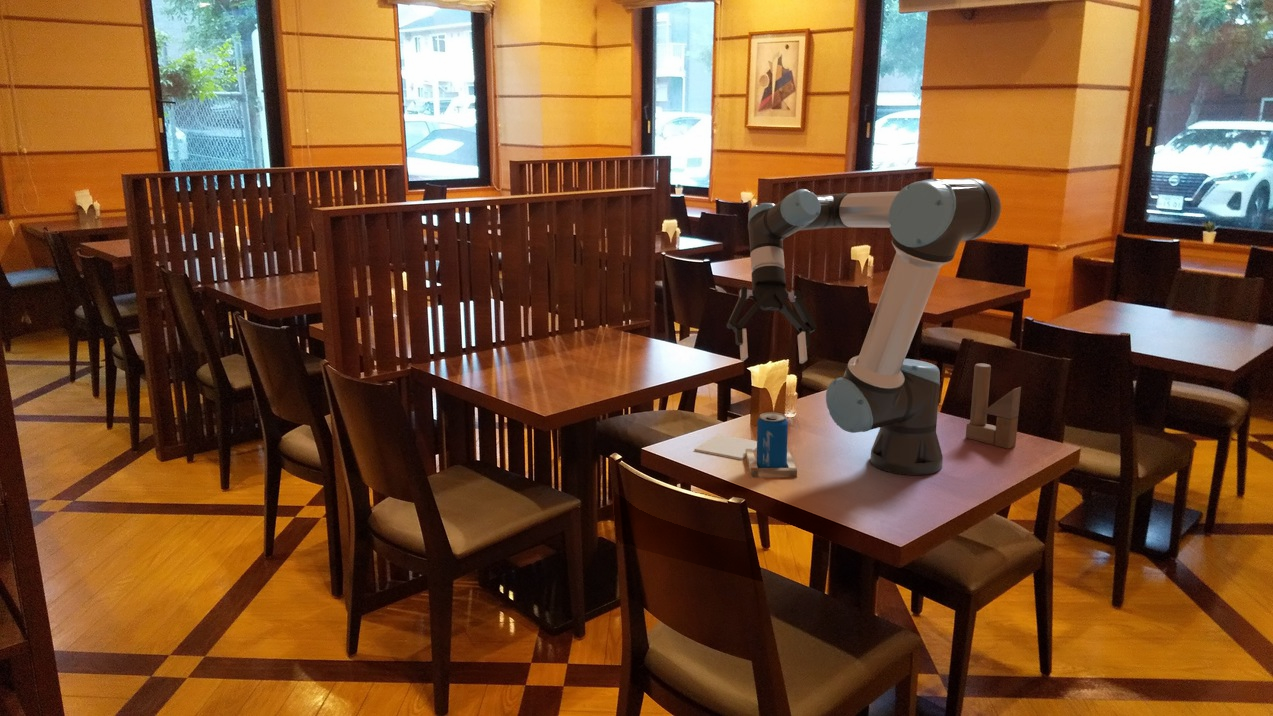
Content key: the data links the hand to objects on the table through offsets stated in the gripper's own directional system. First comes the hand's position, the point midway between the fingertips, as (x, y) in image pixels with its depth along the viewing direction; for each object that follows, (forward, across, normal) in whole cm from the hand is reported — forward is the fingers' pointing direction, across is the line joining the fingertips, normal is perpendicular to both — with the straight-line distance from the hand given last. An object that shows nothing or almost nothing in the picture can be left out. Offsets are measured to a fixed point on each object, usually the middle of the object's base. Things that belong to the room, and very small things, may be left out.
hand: (774, 360), depth 196 cm
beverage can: (+23, 0, -6) cm, 24 cm away
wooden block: (+15, -55, -8) cm, 58 cm away
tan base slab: (+22, 0, -7) cm, 23 cm away
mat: (+16, +5, -19) cm, 25 cm away
